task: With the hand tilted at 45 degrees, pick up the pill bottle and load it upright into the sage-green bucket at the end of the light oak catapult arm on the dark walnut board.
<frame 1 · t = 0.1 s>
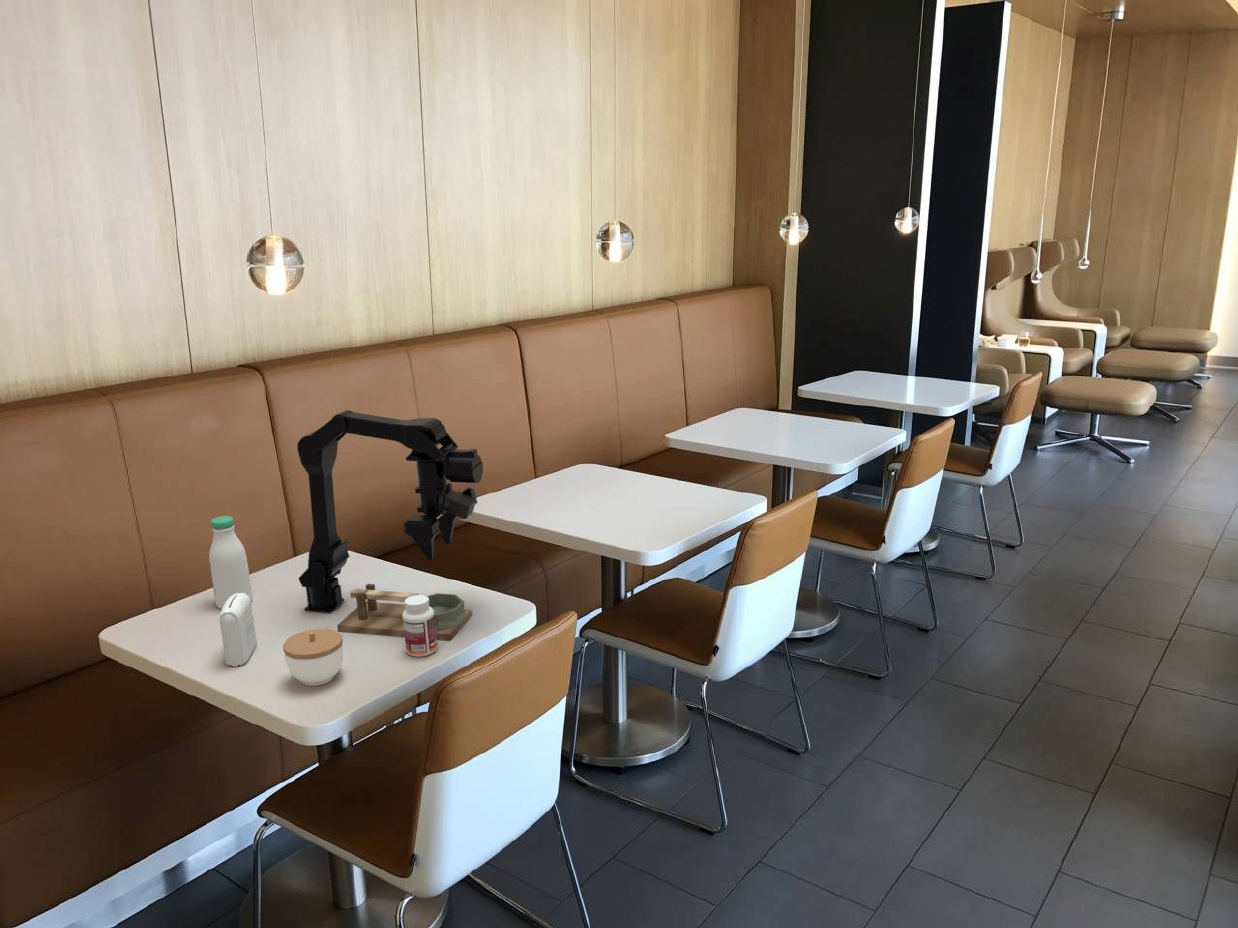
hand: (439, 551, 215), 15 cm above the table, tool pointing down, fingers open, 9 cm apart
pill bottle: (422, 651, 204), on the table
milk bottle: (234, 604, 229), on the table
catapult arm: (406, 605, 215), point 4 cm above the table, hinge at 0.0°
photo printer: (242, 655, 205), on the table
catapult base: (405, 623, 216), on the table
lidded jar: (317, 678, 195), on the table
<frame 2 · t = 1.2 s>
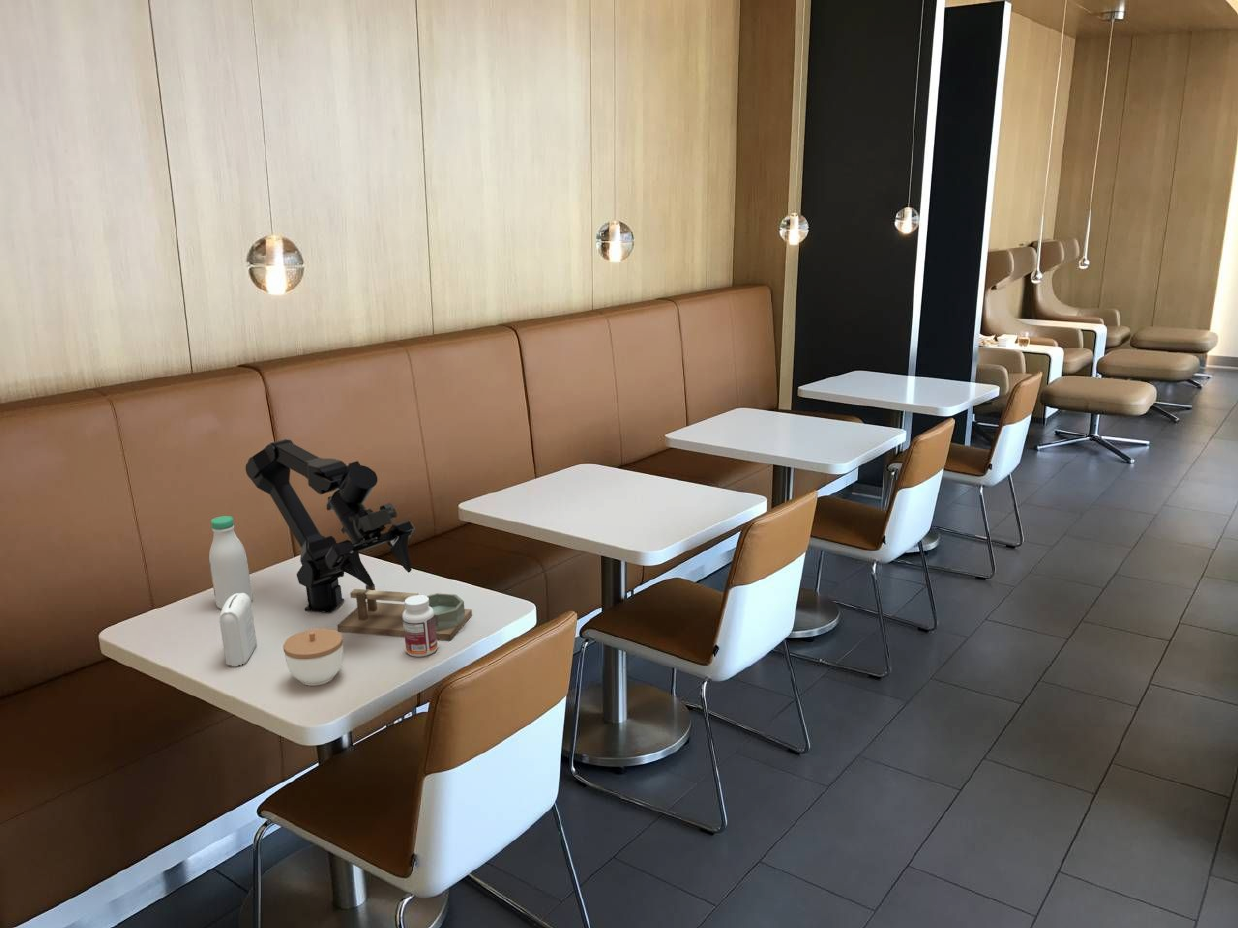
hand: (391, 578, 205), 13 cm above the table, tool tilted 45°, fingers open, 9 cm apart
nothing on the table moved.
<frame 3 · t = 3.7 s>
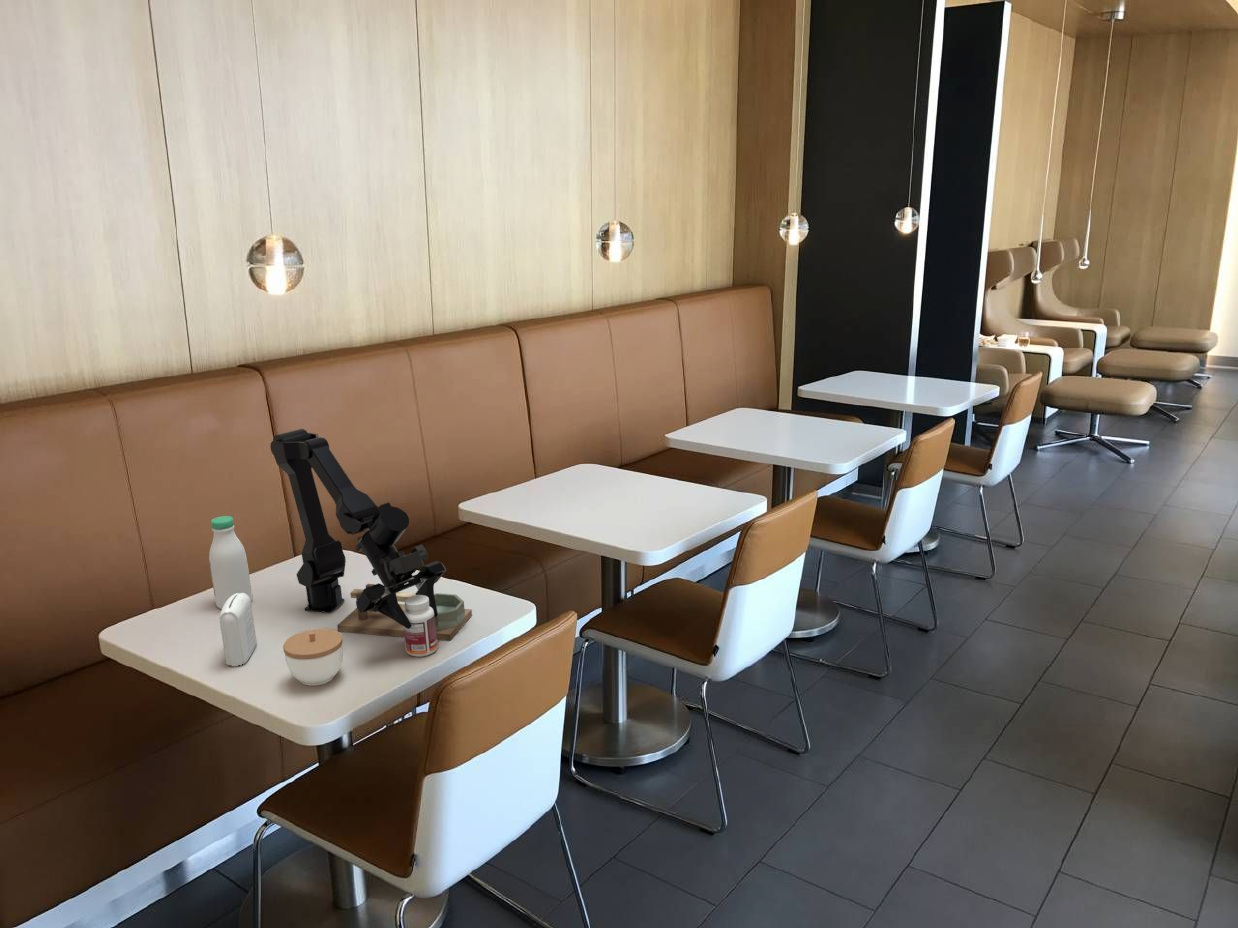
hand: (423, 622, 201), 7 cm above the table, tool tilted 45°, fingers closed on pill bottle, 6 cm apart
pill bottle: (422, 651, 204), on the table, touching gripper
everything else where it was.
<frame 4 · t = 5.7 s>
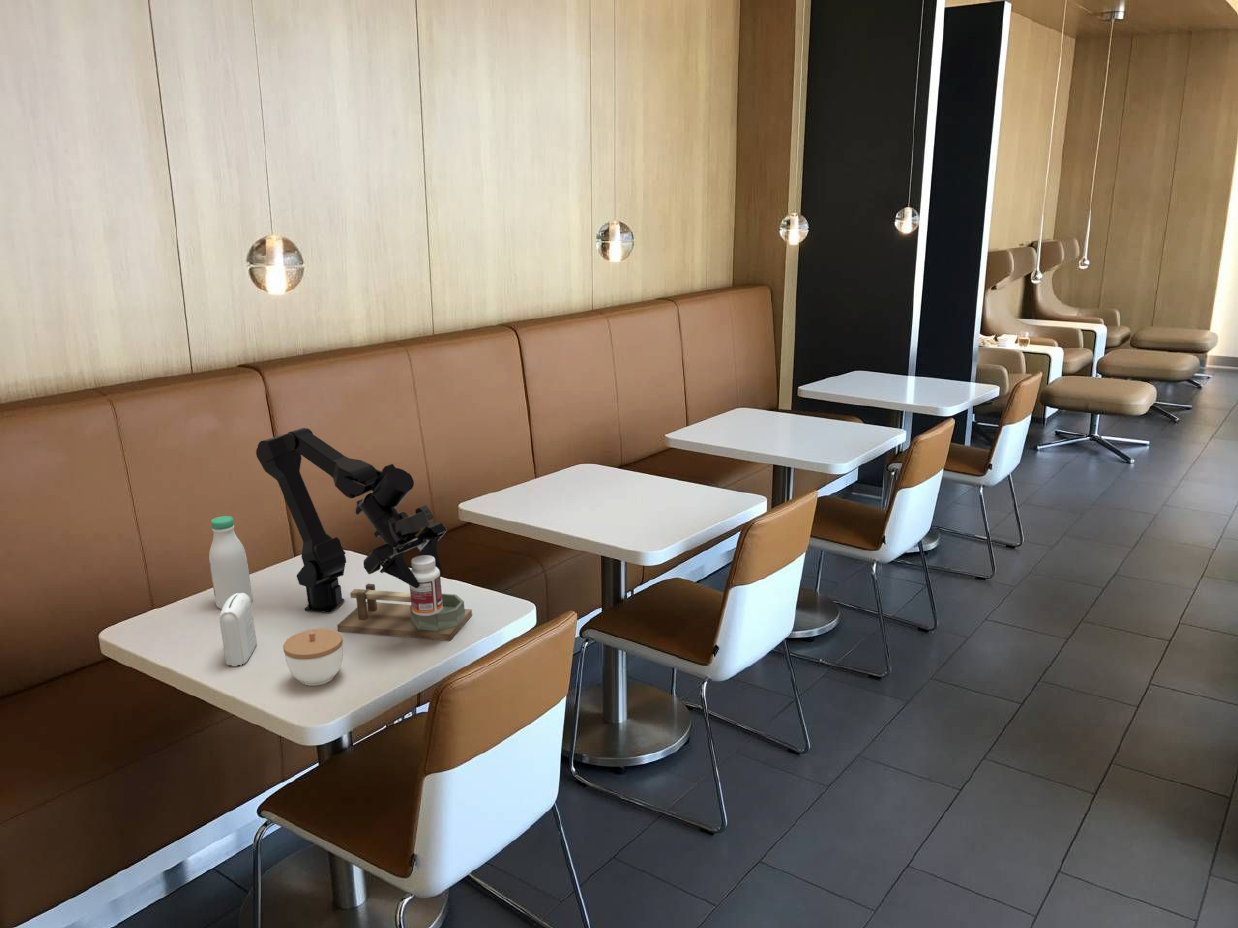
hand: (429, 581, 204), 13 cm above the table, tool tilted 45°, fingers closed on pill bottle, 6 cm apart
pill bottle: (427, 611, 207), point 6 cm above the table, touching gripper
everything else where it was.
when the fingers open (10 cm above the table, at t = 7.5 s): pill bottle stays where it is, resting on catapult arm.
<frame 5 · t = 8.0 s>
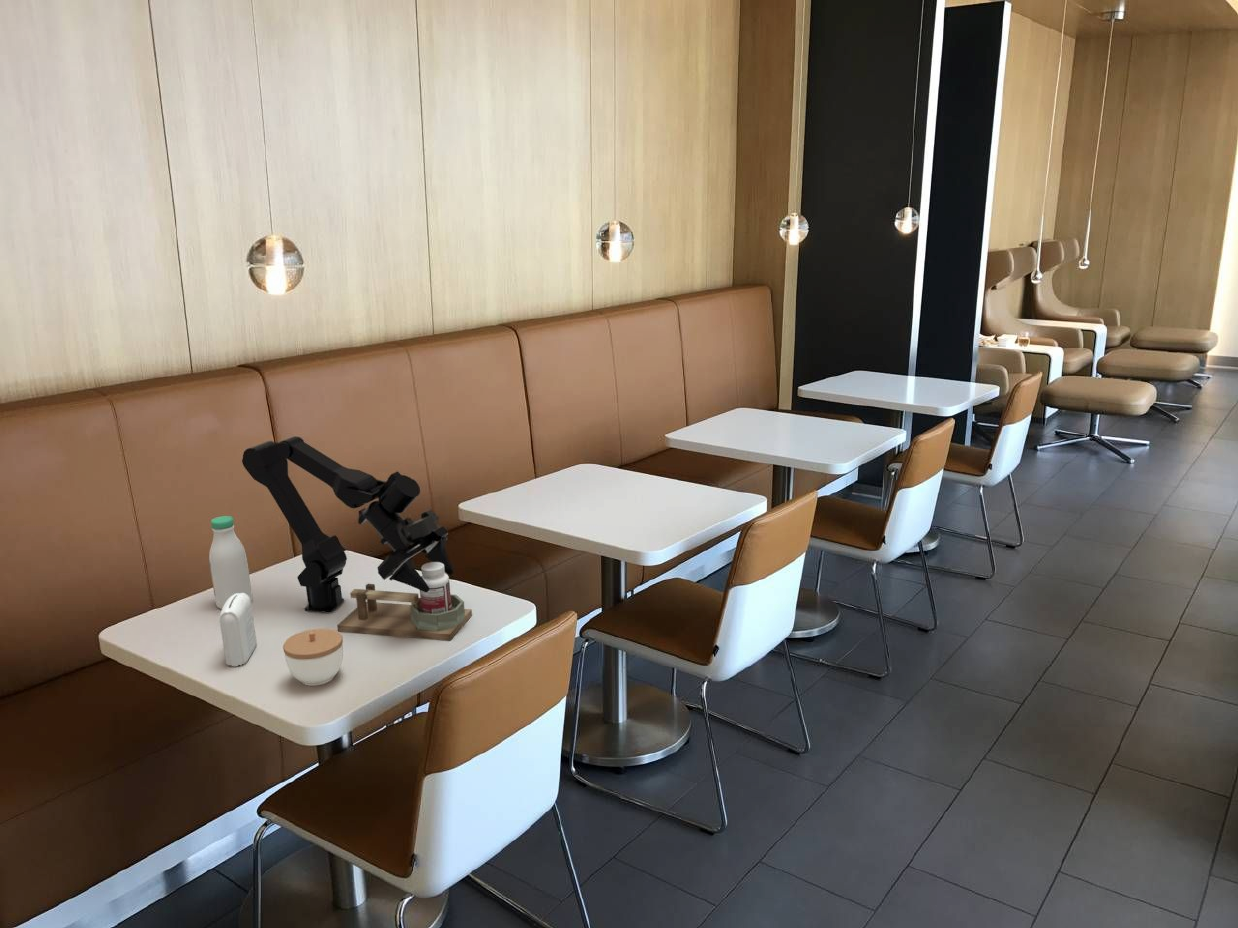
hand: (440, 582, 211), 10 cm above the table, tool tilted 45°, fingers open, 9 cm apart
pill bottle: (437, 615, 214), point 2 cm above the table, touching catapult arm
catapult arm: (406, 605, 215), point 4 cm above the table, hinge at 0.1°, touching catapult base, pill bottle
everything else where it was.
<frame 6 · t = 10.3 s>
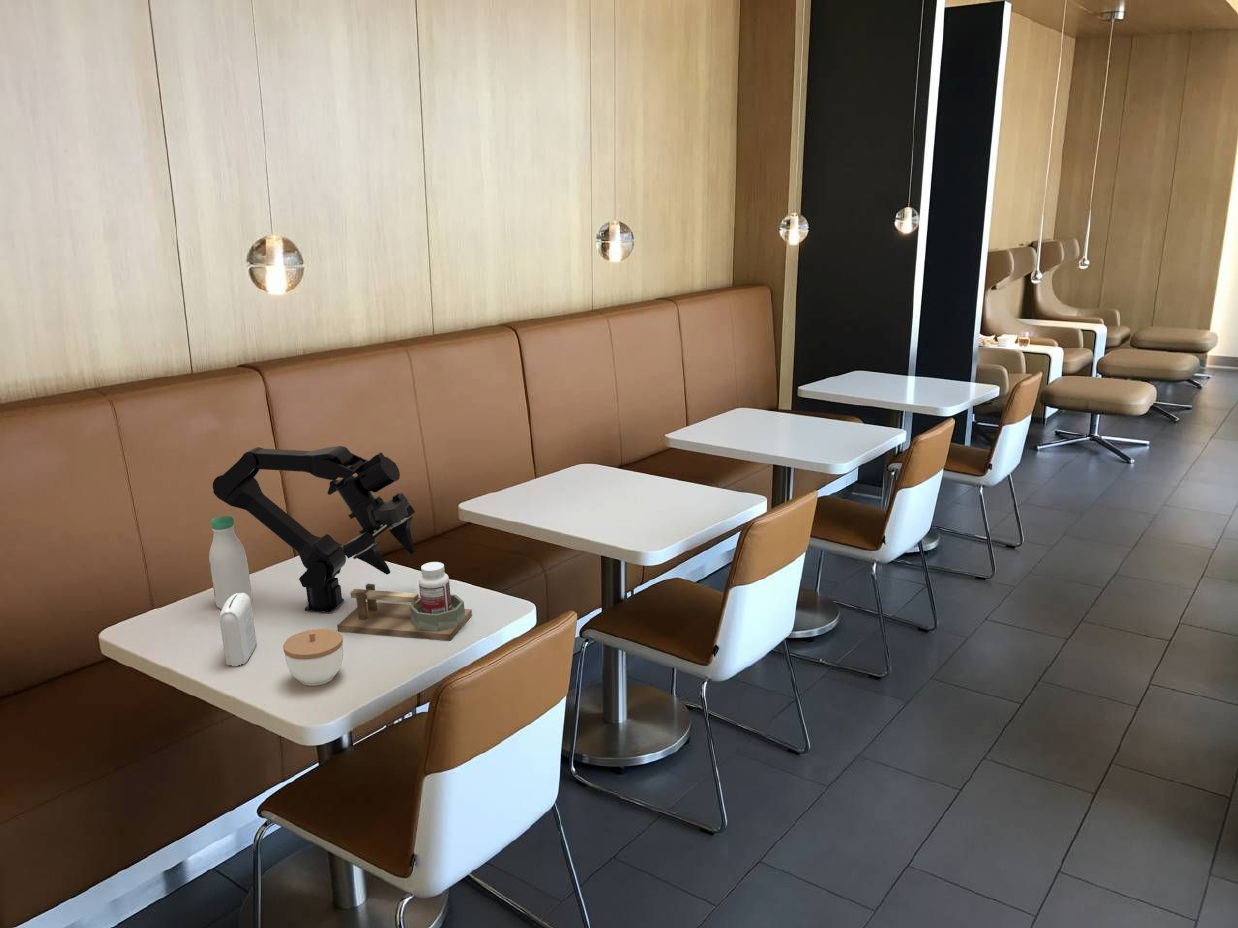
hand: (401, 563, 219), 11 cm above the table, tool tilted 30°, fingers open, 9 cm apart
nothing on the table moved.
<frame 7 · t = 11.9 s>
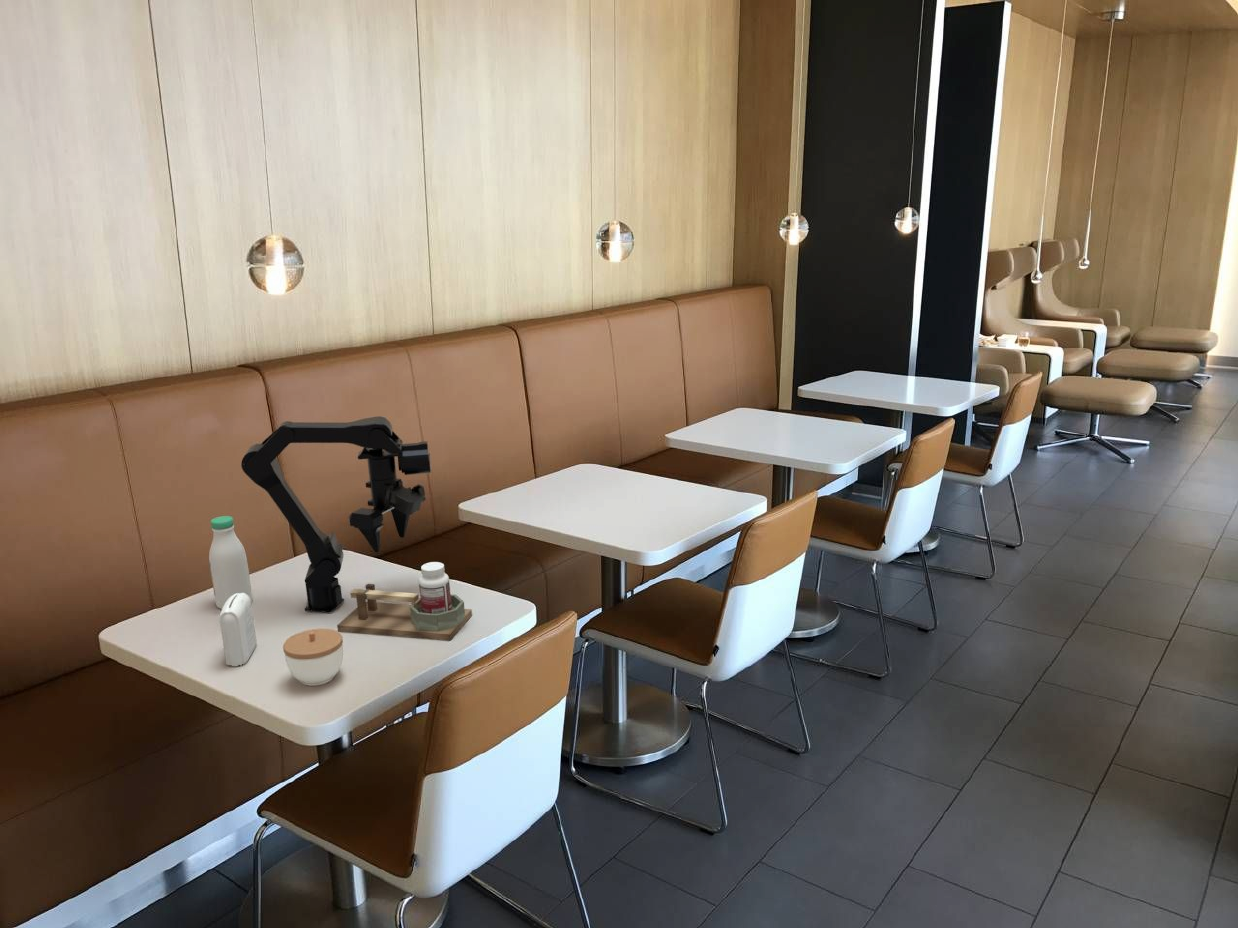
hand: (390, 544, 224), 13 cm above the table, tool pointing down, fingers open, 9 cm apart
nothing on the table moved.
at the end: pill bottle 0.2 cm from the target spot, point 2.2 cm above the table; pill bottle tilted 0°; the gripper is holding nothing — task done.
